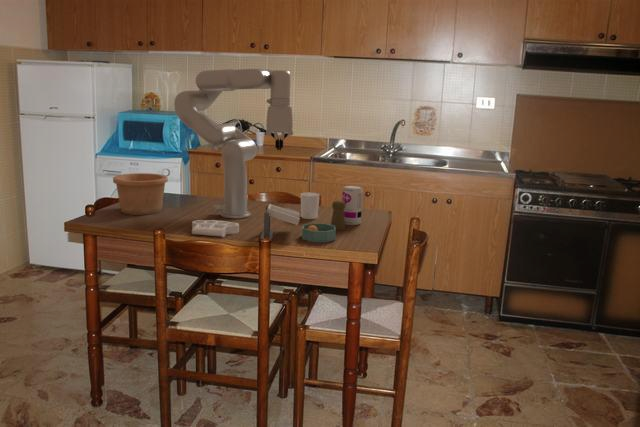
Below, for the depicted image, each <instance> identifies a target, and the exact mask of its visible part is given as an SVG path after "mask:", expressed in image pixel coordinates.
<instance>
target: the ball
mask: <svg viewBox="0 0 640 427" xmlns="http://www.w3.org/2000/svg"><path fill="white" fill-rule="evenodd" d="M307 229H308V230H312V231H318V229H317V227H316V226H314V225H311V226H309V227H308V228H307Z"/></svg>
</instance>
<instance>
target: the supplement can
mask: <svg viewBox="0 0 640 427" xmlns="http://www.w3.org/2000/svg"><path fill="white" fill-rule="evenodd" d="M341 193H342V195H341V197H342V198H341V201H343V202H345V209H344V218H345V226H347V225H348V226H358V225H360V224H361V223H362V218H363V217H362V214H363V212H362V211H363V200H364V198H363V196H364V190H363V188H362V187H361V186H358V185H345V186H344V187H343V188H342V192H341Z"/></svg>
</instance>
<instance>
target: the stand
mask: <svg viewBox="0 0 640 427" xmlns="http://www.w3.org/2000/svg"><path fill="white" fill-rule="evenodd" d="M267 209H268V206H265V212H264V215H263V216H264V217H263V228H262V231H261V233H260V234H261V235H260V238H259V240H260V239H261V238H266V237H267V238H270V239H271V241H272V240H273V235H274V229H273V228H271V216H269V213H267ZM272 242H273V241H272Z"/></svg>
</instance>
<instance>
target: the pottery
mask: <svg viewBox="0 0 640 427" xmlns="http://www.w3.org/2000/svg"><path fill="white" fill-rule="evenodd" d="M112 178H113V179H112V181H113V184H115V185H116V190H117V195H118V201H119V206H120V211H121V213H122V212H123V214H124V213H125V215H131V216H148V214H150V215H153V214H155V215H156V214H158V213H160V212H162V210H163V202H164V193H165V186H166V183H167V182H168V179H169V178H168V176H167V175H164V174H158V173H148V172H144V173H143V172H141V173H140V172H137V173H136V172H135V173H134V172H133V173H124V174H123V173H122V174H118V175H115V176H113V177H112Z"/></svg>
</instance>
